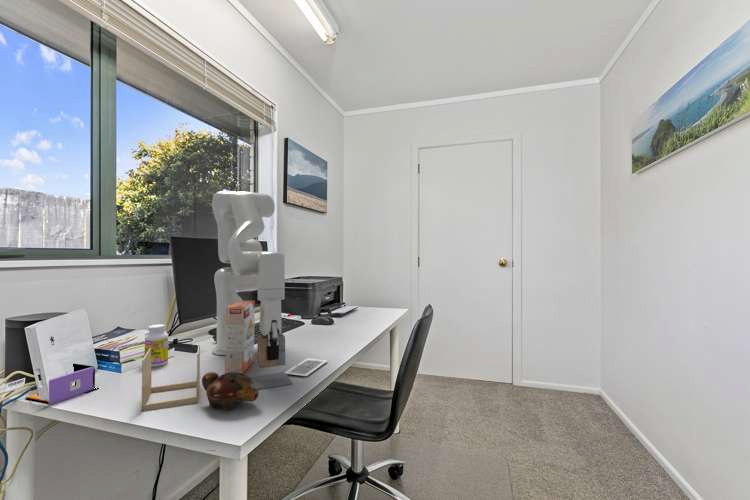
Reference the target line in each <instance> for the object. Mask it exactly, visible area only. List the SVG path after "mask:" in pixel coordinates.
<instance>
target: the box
mask: <svg viewBox="0 0 750 500" xmlns="http://www.w3.org/2000/svg"><path fill="white" fill-rule="evenodd" d="M271 335H272V334H271ZM271 338H272V337H270V339H271ZM278 343H279V359H277V360H270V361H268V360H267V346H268V335H266V336H263V335H262V334H261V335H257V366H258V368H259V369H266V368H272V367H278V366H280V367H281V366H285V365H286V336H285V335H284V334H283V333H282V332H281V333H280V334H279V335H278Z"/></svg>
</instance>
